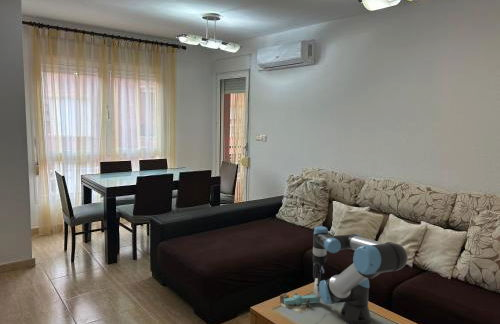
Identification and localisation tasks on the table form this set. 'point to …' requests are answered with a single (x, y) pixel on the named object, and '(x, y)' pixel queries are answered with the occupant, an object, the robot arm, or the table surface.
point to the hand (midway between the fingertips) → (317, 294)
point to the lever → (303, 297)
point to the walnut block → (283, 297)
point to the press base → (299, 306)
